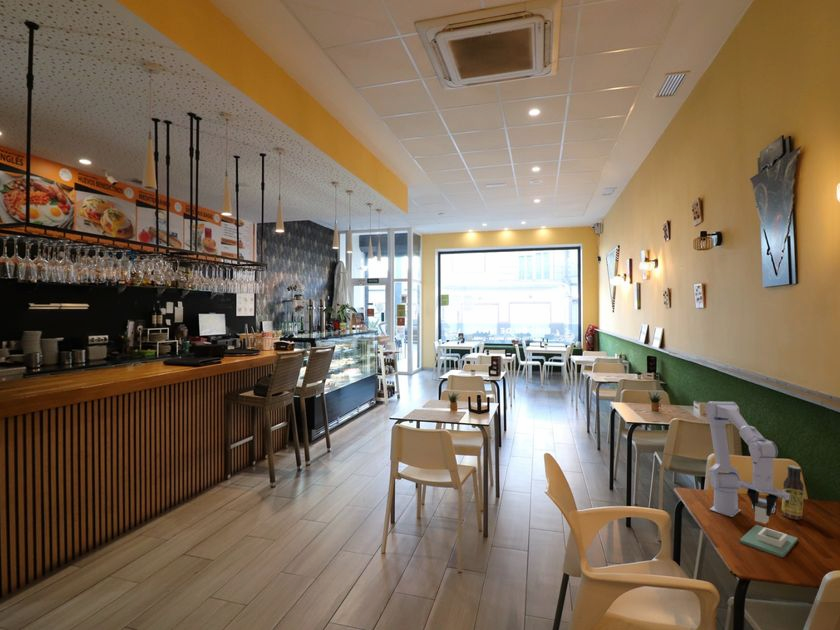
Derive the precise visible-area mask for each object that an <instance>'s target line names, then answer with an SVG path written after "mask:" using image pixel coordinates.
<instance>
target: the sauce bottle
mask: <svg viewBox="0 0 840 630" xmlns="http://www.w3.org/2000/svg"><path fill="white" fill-rule="evenodd" d="M801 473H802V467H799V466H797V465H792V464H791V465H787V477H786V479H784V481H783V487H782V491H783V492H786V493H789V494H790V497H789V500H784V499H783V498H781V500H782V501H781V514H782V516H784V517H785V518H788V519H791V520H798V521H799V520H801V519H802V516H803V511H804V510H803V509H804V495H805V493H804V490H805V489H804V483H803V482H802V480H801Z"/></svg>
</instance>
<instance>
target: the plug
mask: <svg viewBox="0 0 840 630" xmlns="http://www.w3.org/2000/svg"><path fill="white" fill-rule="evenodd" d="M754 521H755V522H758V523H760V524H765V525H766V524H768V522H769V521H770V516H767V503H764V502H761V501H758V502H757V503H755V512H754Z"/></svg>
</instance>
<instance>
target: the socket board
mask: <svg viewBox="0 0 840 630" xmlns="http://www.w3.org/2000/svg"><path fill="white" fill-rule="evenodd" d="M798 539H799V538H798V537H796V536H793V535H790V534H787V533H784V532H780V531H777V530H774V529H771V528H768V527H764V526H761V525H758V524H755V525H754V526H752V528H751V529H749V530H748V531H747V532H746V533H745V534H743V536H742V537H741V538H740V539H739V543H740V544H742V545H746V546H749V547H752V548H753V549H757V550H760V551H762V552H765V553H768V554H771V555H774V556H776V557H779V558H782V559H784V558H785V556H786V555H787V554H788V552H790V550H791V549H792V548H793V547H794V545H795V544H797V542H798ZM783 557H784V558H783Z"/></svg>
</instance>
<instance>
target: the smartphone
mask: <svg viewBox="0 0 840 630" xmlns="http://www.w3.org/2000/svg"><path fill="white" fill-rule="evenodd" d="M758 501H761V502H764V503H767V501H766V498H764V497H763V498H762V497H759V499H758ZM776 505H777V501H776V502H775V504H774V506H773V508H772V512H771V514H772V513H773V515H774V513H776V507H777V506H776ZM775 506H776V507H775ZM751 508H752V509H753V510H754V508H753V504H752V503H751Z"/></svg>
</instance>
